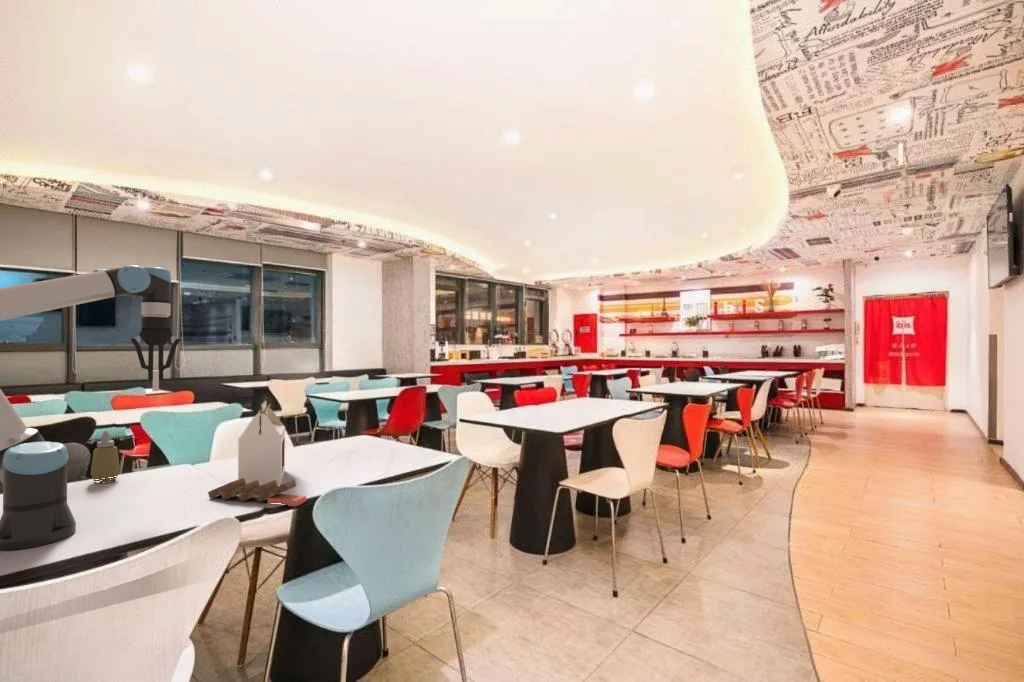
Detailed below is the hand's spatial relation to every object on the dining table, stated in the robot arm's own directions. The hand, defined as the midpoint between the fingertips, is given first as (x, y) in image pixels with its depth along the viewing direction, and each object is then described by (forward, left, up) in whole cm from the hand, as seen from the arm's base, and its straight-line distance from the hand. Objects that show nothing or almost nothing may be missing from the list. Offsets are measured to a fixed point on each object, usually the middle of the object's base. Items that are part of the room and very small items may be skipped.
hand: (155, 390), depth 155 cm
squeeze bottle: (-13, +35, -35) cm, 51 cm away
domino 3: (+22, -18, -33) cm, 44 cm away
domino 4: (+27, -23, -33) cm, 48 cm away
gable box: (+32, +4, -35) cm, 47 cm away
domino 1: (+16, -8, -33) cm, 38 cm away
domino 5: (+29, -25, -34) cm, 51 cm away
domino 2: (+19, -13, -33) cm, 40 cm away
